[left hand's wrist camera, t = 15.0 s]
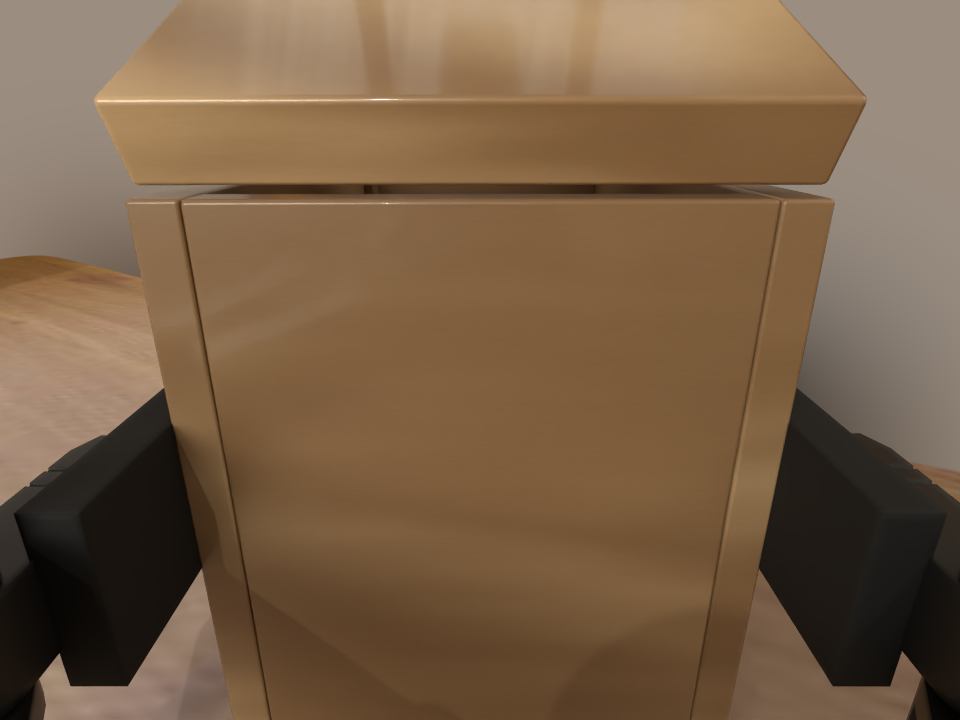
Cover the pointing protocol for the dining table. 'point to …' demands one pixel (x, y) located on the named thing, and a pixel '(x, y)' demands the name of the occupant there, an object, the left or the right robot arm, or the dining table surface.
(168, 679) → the dining table surface
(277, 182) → the lid
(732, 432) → the chest
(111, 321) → the dining table surface
